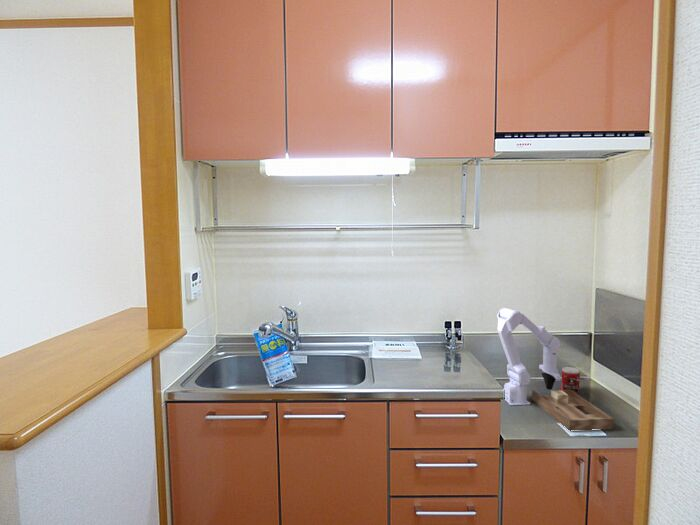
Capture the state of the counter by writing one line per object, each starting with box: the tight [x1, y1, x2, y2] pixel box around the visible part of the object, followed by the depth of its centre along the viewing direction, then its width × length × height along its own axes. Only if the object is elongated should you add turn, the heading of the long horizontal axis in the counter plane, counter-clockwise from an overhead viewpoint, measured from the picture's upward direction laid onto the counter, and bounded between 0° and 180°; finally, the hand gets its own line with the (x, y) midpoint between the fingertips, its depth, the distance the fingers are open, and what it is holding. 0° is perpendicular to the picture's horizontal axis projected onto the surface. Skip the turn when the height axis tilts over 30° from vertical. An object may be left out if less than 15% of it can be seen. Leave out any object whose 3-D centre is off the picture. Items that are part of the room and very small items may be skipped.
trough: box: [531, 389, 615, 431], centre depth 172 cm, size 18×29×4 cm, turn 4°
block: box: [550, 389, 568, 404], centre depth 180 cm, size 5×5×4 cm
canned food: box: [560, 366, 581, 395], centre depth 194 cm, size 8×8×11 cm
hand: (549, 388), depth 188 cm, fingers closed
